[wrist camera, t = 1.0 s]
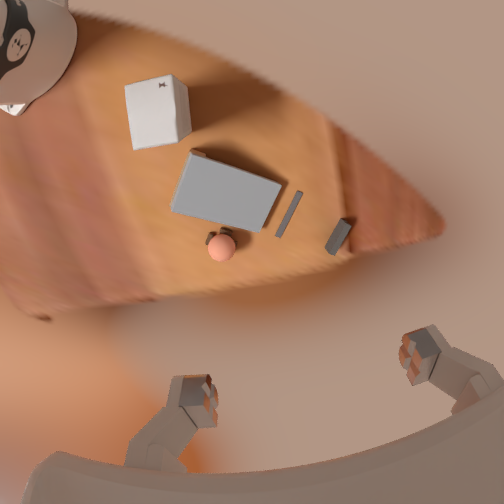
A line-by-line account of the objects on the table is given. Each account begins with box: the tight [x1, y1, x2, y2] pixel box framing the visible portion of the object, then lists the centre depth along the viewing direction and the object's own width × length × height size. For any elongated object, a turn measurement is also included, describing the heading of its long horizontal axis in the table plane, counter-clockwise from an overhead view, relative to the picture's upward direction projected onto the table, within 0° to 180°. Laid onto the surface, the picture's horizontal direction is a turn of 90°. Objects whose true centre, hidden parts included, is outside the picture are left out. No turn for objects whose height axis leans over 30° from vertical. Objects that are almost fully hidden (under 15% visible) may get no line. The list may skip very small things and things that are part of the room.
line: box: [275, 191, 303, 238], centre depth 38 cm, size 1×7×1 cm, turn 156°
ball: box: [208, 234, 235, 262], centre depth 37 cm, size 4×4×4 cm
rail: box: [325, 218, 351, 256], centre depth 39 cm, size 1×5×2 cm, turn 156°
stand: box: [206, 228, 237, 247], centre depth 38 cm, size 4×4×1 cm
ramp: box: [169, 149, 282, 233], centre depth 33 cm, size 12×7×4 cm, turn 66°
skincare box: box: [125, 74, 192, 150], centre depth 24 cm, size 6×4×12 cm
